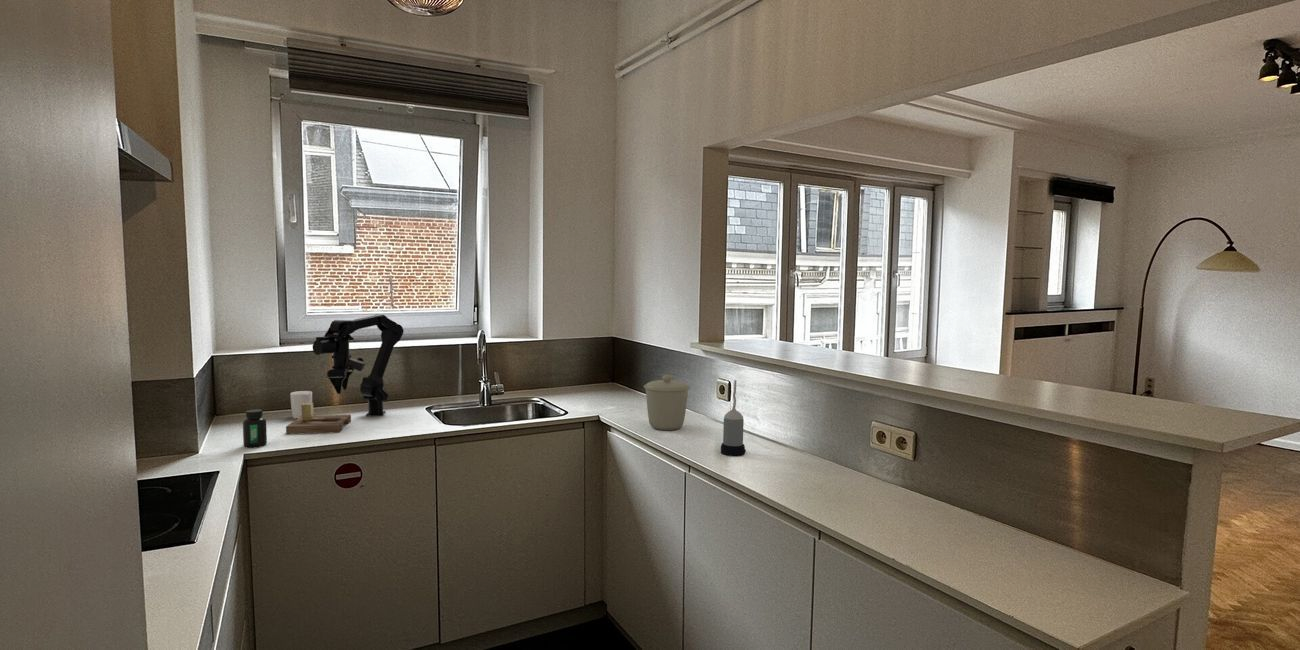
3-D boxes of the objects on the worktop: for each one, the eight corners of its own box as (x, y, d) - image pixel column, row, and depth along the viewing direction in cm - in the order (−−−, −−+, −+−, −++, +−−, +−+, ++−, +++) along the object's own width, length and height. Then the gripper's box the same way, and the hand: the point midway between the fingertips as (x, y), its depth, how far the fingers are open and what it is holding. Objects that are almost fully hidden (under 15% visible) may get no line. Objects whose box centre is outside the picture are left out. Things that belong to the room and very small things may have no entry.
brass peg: (303, 426, 250) (302, 402, 249) (316, 426, 251) (315, 402, 250) (299, 429, 245) (299, 405, 245) (312, 429, 246) (311, 404, 246)
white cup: (291, 415, 267) (290, 391, 267) (312, 414, 271) (312, 390, 270) (290, 419, 260) (290, 395, 260) (313, 418, 264) (312, 393, 263)
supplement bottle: (257, 448, 219) (256, 413, 218) (238, 447, 219) (237, 412, 219) (271, 443, 226) (270, 409, 225) (253, 442, 226) (251, 408, 225)
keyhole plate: (301, 422, 256) (301, 415, 255) (350, 421, 259) (350, 414, 259) (286, 434, 238) (285, 426, 238) (339, 432, 242) (339, 424, 242)
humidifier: (750, 454, 221) (752, 381, 219) (731, 457, 217) (733, 383, 215) (734, 448, 228) (736, 377, 226) (715, 451, 224) (717, 379, 221)
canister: (638, 423, 264) (639, 371, 262) (681, 421, 269) (682, 370, 267) (650, 434, 246) (651, 378, 245) (695, 431, 251) (696, 377, 250)
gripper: (357, 355, 249) (358, 395, 250) (368, 349, 267) (368, 387, 269) (326, 355, 247) (327, 396, 248) (338, 349, 265) (339, 387, 266)
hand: (342, 391), depth 258 cm, fingers open, 9 cm apart
